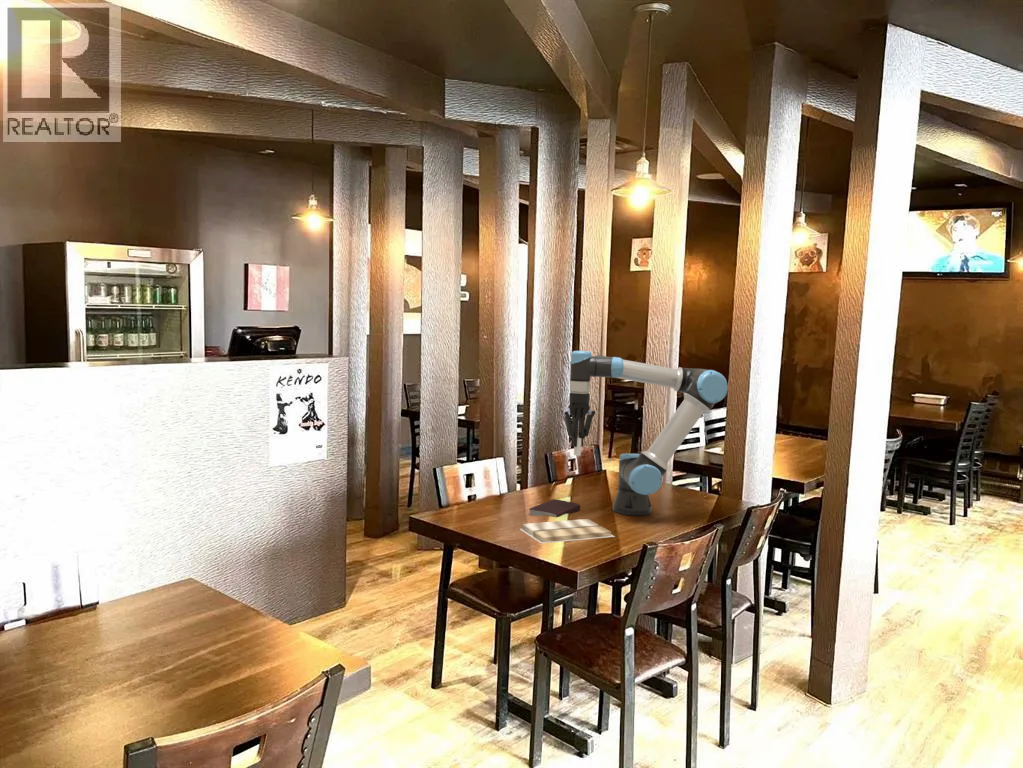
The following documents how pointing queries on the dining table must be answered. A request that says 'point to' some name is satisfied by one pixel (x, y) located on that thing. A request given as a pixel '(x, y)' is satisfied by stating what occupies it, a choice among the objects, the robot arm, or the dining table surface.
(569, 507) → the book
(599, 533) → the laid plank
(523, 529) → the floor board
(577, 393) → the robot arm
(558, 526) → the loose plank
